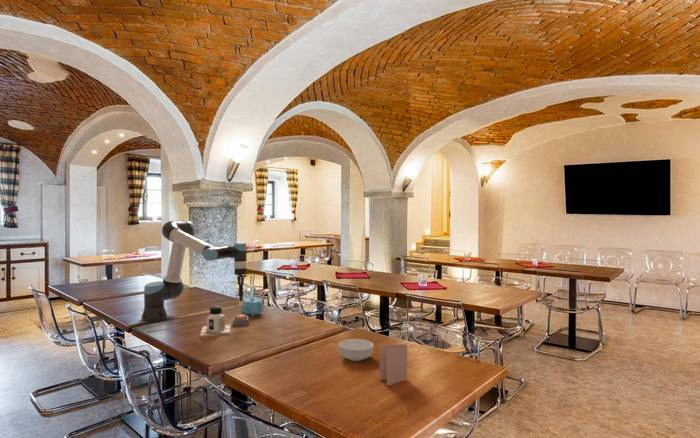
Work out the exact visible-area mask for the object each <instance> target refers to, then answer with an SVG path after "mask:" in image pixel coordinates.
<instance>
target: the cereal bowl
mask: <svg viewBox="0 0 700 438" xmlns="http://www.w3.org/2000/svg"><path fill="white" fill-rule="evenodd" d="M374 347H375V345H374V343H373V342H372V341H370V340H367V339H361V338H350V339H349V338H348V339H344V340H342V341H340V342H339V343H338V350H339V353H340V354H341V356H342V357H344V358H345V359H348V360H349V361H353V362H360V361H364V360H366V359H367V358H369V357H371V356H372V354H373V353H374Z"/></svg>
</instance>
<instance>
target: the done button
mask: <svg viewBox="0 0 700 438" xmlns="http://www.w3.org/2000/svg"><path fill="white" fill-rule="evenodd" d="M235 317H236V320H243V319H246V315H245V314H242V313H240V314H237V315H235Z"/></svg>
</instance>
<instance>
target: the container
mask: <svg viewBox="0 0 700 438" xmlns="http://www.w3.org/2000/svg"><path fill="white" fill-rule="evenodd" d="M222 309H223V307H222V306H211V307H210V308H209V316H207V317H206V326H207V331H220V330H222V329H223V328H225V325H226V314H223V313H222V312H223V310H222Z"/></svg>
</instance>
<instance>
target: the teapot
mask: <svg viewBox="0 0 700 438" xmlns="http://www.w3.org/2000/svg"><path fill="white" fill-rule="evenodd" d="M240 307H241V314H243V315H246V316H248V317H249V315H251V317H254V318H255V317H256V316H257V315H260V314H261V313H263V311H264V301H263V299H261V296H260V297H258V298H254V297H250V298H247V299H243V306H240Z"/></svg>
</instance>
